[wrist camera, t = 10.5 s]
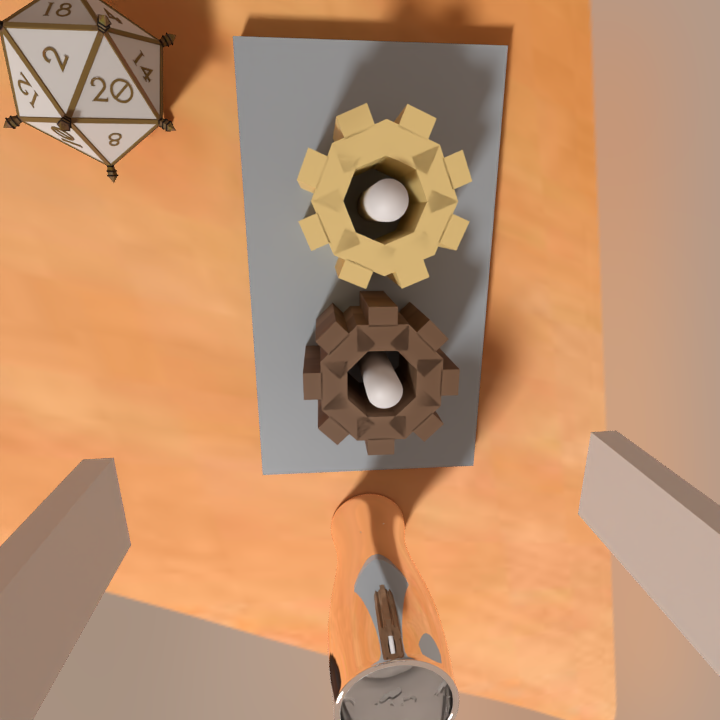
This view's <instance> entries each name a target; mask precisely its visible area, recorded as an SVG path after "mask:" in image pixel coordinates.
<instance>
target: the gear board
mask: <svg viewBox="0 0 720 720" xmlns="http://www.w3.org/2000/svg"><path fill="white" fill-rule="evenodd" d="M233 46H234V60H235V75H236V89H237V104H238V119H239V133H240V148H241V162H242V177H243V191H244V206H245V221H246V235H247V250H248V264H249V279H250V294H251V308H252V323H253V337H254V352H255V367H256V381H257V396H258V410H259V425H260V440H261V454H262V469H263V475H271V474H294V473H317V472H339V471H362V470H385V469H407V468H430V467H453V466H473V462H474V450H475V438H476V426H477V414H478V402H479V390H480V378H481V365H482V353H483V341H484V329H485V317H486V305H487V293H488V281H489V269H490V257H491V244H492V232H493V220H494V208H495V196H496V184H497V172H498V160H499V148H500V136H501V123H502V111H503V99H504V87H505V75H506V63H507V51H508V46H506V45H477V44H448V43H419V42H390V41H361V40H332V39H303V38H274V37H244V36H233ZM365 103H367V104H368V107H369V110H370V113H371V115H372V118H373V121H374V124H376V123H379V122H381V121H383V120H385V119H388V120H390V121H392V122H394V121H395V119H396V118H397V117H398V116H399V114H400V113H401V112H402V110H403V109H404V108H405V106H406V105H407V104H409V105H411V106H413V107H415V108H417V109H419V110H421V111H423V112H425V113H427V114H429V115H431V116H433V117H435V118H437V119H436V121H435V124H434V126H433V129H432V131H431V134H430V136H429V138H428V139H429V140H431V141H433V142H435V143H437V144H440V147H441V150H442V153H443V156H444V158H445V157H447V156H449V155H452V154H454V153H456V152H459V151H461V150H463V153H464V156H465V159H466V162H467V166H468V169H469V172H470V175H471V179H472V182H470V183H467V184H465V185H463V186H461V187H458V188H456V189H454V190H455V193H456V196H457V199H458V203H457V205H456V208H455V210H454V212H453V214H454V215H457V216H459V217H461V218H463V219H465V220H467V221H470V222H469V224H468V226H467V228H466V231H465V233H464V235H463V237H462V239H461V241H460V244H459V246H458V248H457V250H452V249H447V248H443V247H438V248H437V250H436V253H435V255H433V256H430V257H428V258H426V259H423V260H424V263H425V266H426V268H427V271H428V274H429V277H428V278H426V279H424V280H421V281H419V282H417V283H414V284H412V285H410V286H407V287H405V288H403V289H402V288H401V287H399V286H398V285H397V284H396V283H395V282H393V281H392V280H391V279H390V278H388V277H387V276H383V275H380V274H378V273H375V272H373V273H372V276H371V278H370V281H369V283H368V285H367V288H366V289H365V288H362V287H360V286H357V285H355V284H352V283H350V282H347V281H345V280H342V279H340V278H338V275H337V273H336V270H335V265H336V262H337V260H338V257H337V256H335V255H334V254H333V252H332V250H331V248H330V245H329V244H326V245H324V246H322V247H319V248H317V249H315V250H312V251H311V249H310V247H309V245H308V243H307V240H306V238H305V236H304V233H303V231H302V229H301V226H300V224H299V222H298V221H300V220H302V219H305V218H307V217H309V216H311V215H314V214H316V212H315V210H314V207H313V205H312V202H311V200H312V197H313V193H311V192H309V191H306V190H304V189H302V188H301V187H300V185H299V183H298V181H297V178H298V175H299V172H300V169H301V166H302V164H303V161H304V158H305V155H306V152H307V149H308V148H310V149H313V150H315V151H317V152H319V153H321V154H324V155H326V156H328V153H329V150H330V148H331V145H332V143H333V142H334V140H333V133H334V127H335V121H336V116H338V115H341V114H343V113H345V112H347V111H350V110H352V109H354V108H356V107H359V106H361V105H363V104H365ZM343 202H344V204H345V207H346V209H347V212H348V214H349V217H350V219H351V222H352V224H353V227H354V229H355V232H356V233H358V234H361V235H363V236H365V237H368V238H370V239H372V240H374V239H376V238H379V237H381V236H383V235H386V234H388V233H390V232H393V231H395V230H396V228H397V226H398V223H399V221H400V219H401V216H402V215H403V214H404V213H405V211H406V209H407V207H408V202H409V197H408V193H407V190H406V188H405V187H404V186H403V184H402V183H400V182H399V181H397V179H394V178H392V177H390V176H388V175H386V174H384V173H381V172H379V171H377V170H375V169H370V170H368V171H366V172H363V173H361V174H359V175H357V176H354V177H352V179H351V182H350V185H349V187H348V190H347V193H346V195H345V198H344V200H343ZM359 291H384V292H385V293H386V294H387V295H388V296H389V298H390V299H391V300H392V301H393V302H394V303H395V304H396V305H397V306H398V311H400V310H401V309H402V308H404V307H405V306H406V305H407V304H408V303H409V302H411V303H412V304H413V305H414V306H415V307H416V308H417V309H419V310H420V311H421V312H422V313H423V314H424V315H425V316H426V317H428V318H429V319H430V320H431V321H432V322H433V323H434V324H435V325H436V326H437V327H438V328H439V329H440V330H441V331H442V333H443V334H444V335H445V336H446V337H447V338H448V340H447V341H446V342H445V343H444V344H443V345H442V346H441V347H440V349H441V350H442V351H443V352H444V353H445V354H446V355H447V356H448V357H449V359H450V360H451V361H452V362H453V363H454V364H455V365H456V366H457V367H458V368H459V369H460V374H459V389H458V395H451V396H441V406H440V407H439V408H438V409H437V410H436V412H437V414H438V415H439V417H440V419H441V420H442V422H443V425H442V426H441V427H440V428H439V429H438V430H437V431H436V432H435V433H434V434H432V435H431V436H430V437H429V438H428V439H427V440H426V441H425V442H424V441H423V440H422V439H421V438H420V437H418V436H417V435H416V434H415V433H414V432H412V433H411V434H410V435H409V436H408V437H407V438H406V439H395V443H394V454H391V455H368V454H367V449H366V444H365V441H357V440H356V439H354V438H353V437H352V436H351V435H350V434H349V435H348V436H347V437H346V438H345V439H344V440H343V441H341V442H340V443H339V444H338V445H336V444H335V443H334V442H333V441H332V440H331V439H329V438H328V437H327V436H326V435H325V434H324V433H322V432H321V431H320V430H319V429H318V400H304V393H303V367H304V357H305V347H306V346H312V345H318V344H317V343H316V342H315V338H316V319H317V318H318V317H319V316H320V315H321V314H322V313H323V312H324V311H325V310H326V309H327V308H328V307H329V306H330V305H331V304H332V303H333V304H334V305H336V306H337V307H338V308H339V309H340V310H341V311H342V312H344V311H345V310H346V309H347V308H348V307H349V306H359ZM398 366H399V352H398V351H368V352H367V353H366V354H365V355H364V356H363V357H362V358H361V359H360V360H359V361H358V362H357V363H356V364H355V365H354V366H353V367H352V368H351V369H350V370H349V371H348V373H349V374H350V375H351V376H352V377H353V378H355V379H356V380H357V381H358V382H359V383H363V382H364V386H365V389H366V393H367V396H368V399H369V401H370V402H371V403H372V404H373V405H374V406H376V407H378V408H390V407H392V406H394V405H396V404H397V403H398V402H399V401H400V399H401V397H402V394H403V388H402V384H401V382H400V380H399V378H398V377H397V375H396V373H395V371H394V370H395V369H396V368H397V367H398Z"/></svg>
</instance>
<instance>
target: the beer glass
mask: <svg viewBox="0 0 720 720" xmlns="http://www.w3.org/2000/svg"><path fill="white" fill-rule="evenodd" d="M331 535H332V539H333V542H334V545H335V548H336V552H337V569H336V575H335V580H334V585H333V591H332V596H331V602H330V611H329V619H328V656H329V670H330V679H331V688H332V697H333V705H334V720H454V719H455V717H456V714H457V711H458V707H459V693H458V689H457V687H456V683H455V679H454V674H453V669H452V664H451V659H450V655H449V650H448V645H447V641H446V638H445V634H444V630H443V627H442V623H441V620H440V617H439V614H438V611H437V608H436V605H435V603H434V600H433V598H432V596H431V594H430V592H429V590H428V588H427V585H426V583H425V582H424V580H423V578H422V576H421V574H420V572H419V571H418V569H417V567H416V565H415V563H414V562H413V560H412V558H411V556H410V554H409V552H408V550H407V547H406V543H405V522H404V517H403V514H402V512H401V510H400V508H399V507H398V506H397V505H396V504H395V503H394V502H393V501H392V500H390V499H389V498H387V497H385V496H382V495H378V494H362V495H358V496H355V497H352V498H350V499H349V500H347V501H346V502H344V503H343V504H342V505H341V506H340V507H339V508H338V509H337V510H336V512H335V514H334V516H333V518H332V522H331Z"/></svg>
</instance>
